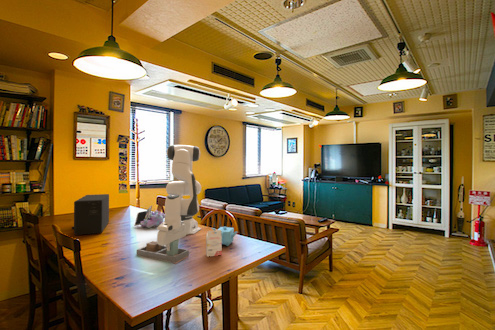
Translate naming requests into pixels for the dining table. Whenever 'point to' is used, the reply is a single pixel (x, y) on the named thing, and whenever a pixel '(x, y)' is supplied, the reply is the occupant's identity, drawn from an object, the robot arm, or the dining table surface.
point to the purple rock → (149, 218)
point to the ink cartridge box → (213, 243)
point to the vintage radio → (91, 214)
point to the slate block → (173, 248)
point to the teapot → (226, 235)
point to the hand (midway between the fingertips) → (172, 248)
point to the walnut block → (153, 247)
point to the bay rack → (164, 254)
